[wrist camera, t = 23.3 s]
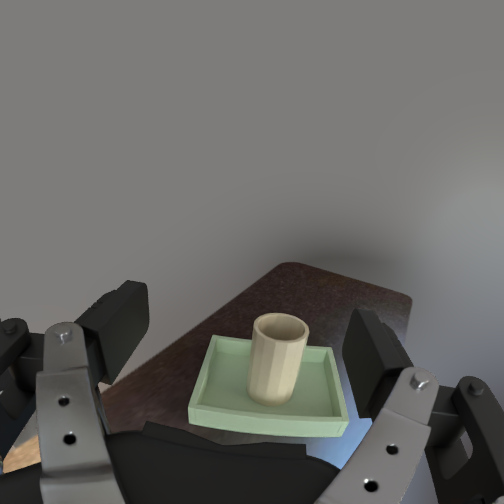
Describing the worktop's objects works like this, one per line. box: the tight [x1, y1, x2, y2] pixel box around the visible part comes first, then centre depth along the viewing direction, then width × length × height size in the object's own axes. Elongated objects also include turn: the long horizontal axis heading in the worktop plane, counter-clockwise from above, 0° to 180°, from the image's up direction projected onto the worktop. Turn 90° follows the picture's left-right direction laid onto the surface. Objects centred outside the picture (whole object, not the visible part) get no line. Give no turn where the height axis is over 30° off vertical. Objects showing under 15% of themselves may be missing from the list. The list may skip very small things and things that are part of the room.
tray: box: [188, 335, 349, 437], centre depth 34 cm, size 18×15×3 cm
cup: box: [246, 313, 309, 406], centre depth 33 cm, size 6×6×10 cm
